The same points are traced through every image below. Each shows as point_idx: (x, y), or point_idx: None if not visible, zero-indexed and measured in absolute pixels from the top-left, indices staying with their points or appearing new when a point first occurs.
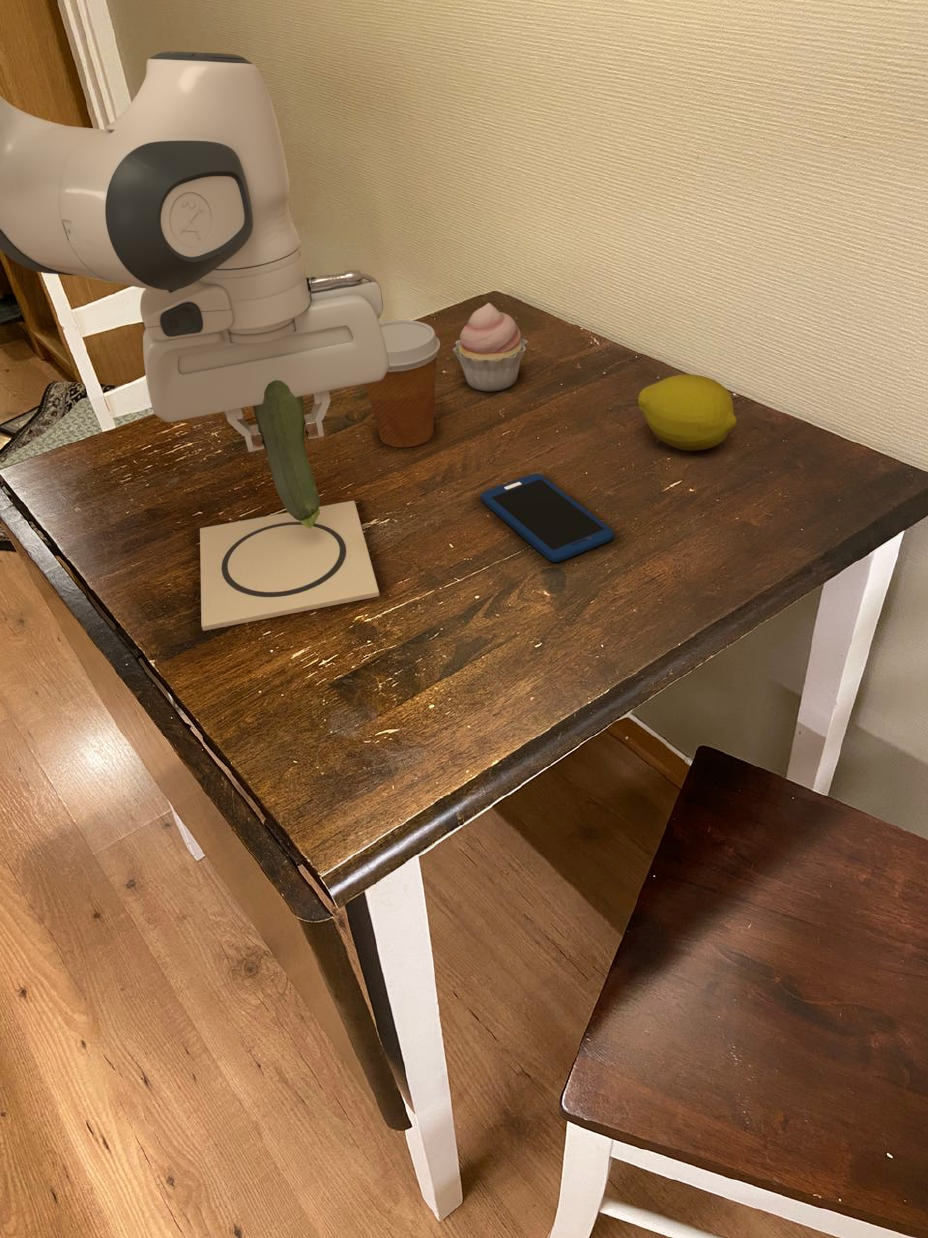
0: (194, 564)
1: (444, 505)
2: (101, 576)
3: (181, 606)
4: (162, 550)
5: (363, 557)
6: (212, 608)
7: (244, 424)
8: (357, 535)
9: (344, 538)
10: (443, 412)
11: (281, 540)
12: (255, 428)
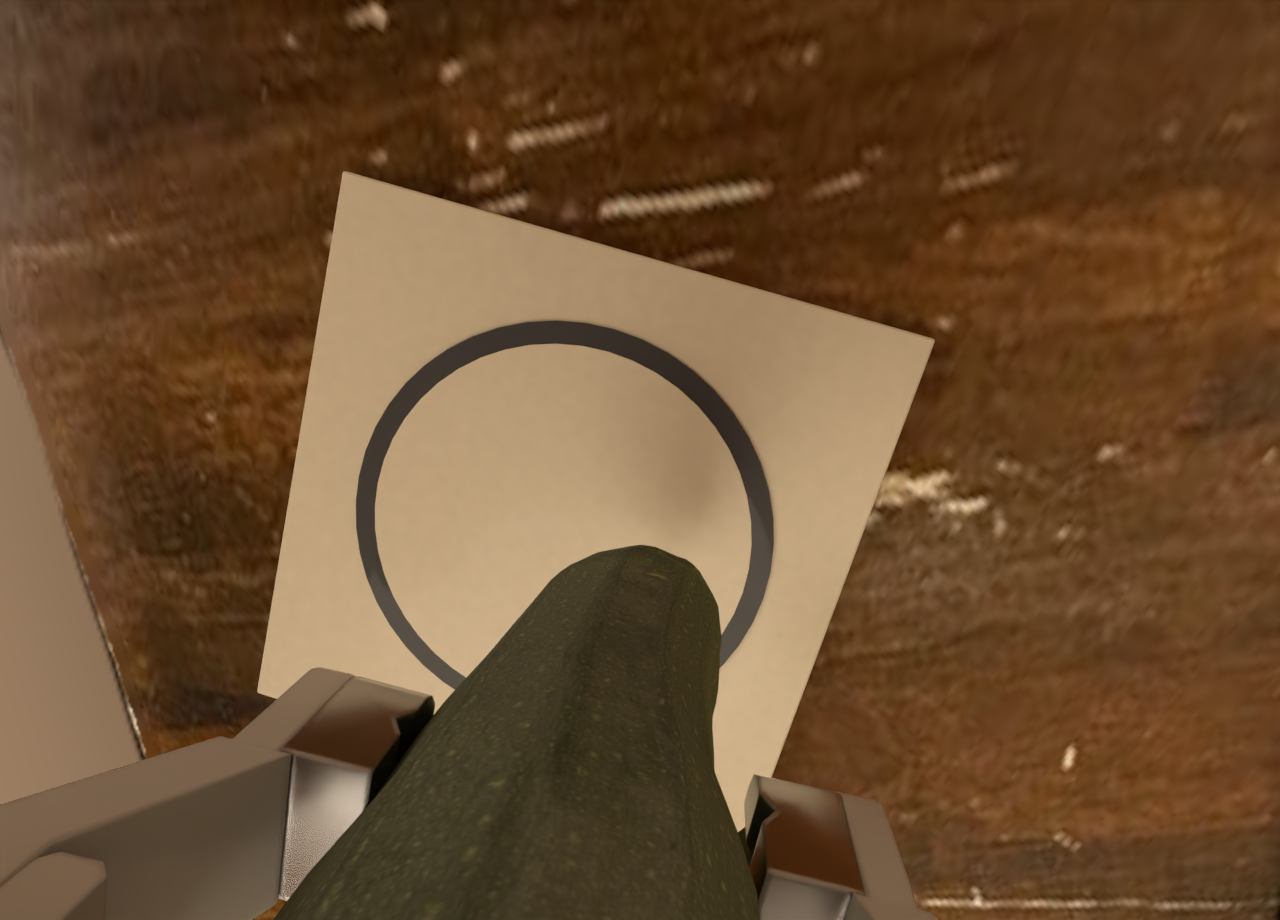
0: (298, 357)
1: (1212, 544)
2: (14, 241)
3: (230, 544)
4: (211, 204)
5: (785, 682)
6: (297, 641)
7: (194, 898)
8: (827, 565)
9: (781, 552)
10: None
11: (582, 443)
12: (331, 820)
